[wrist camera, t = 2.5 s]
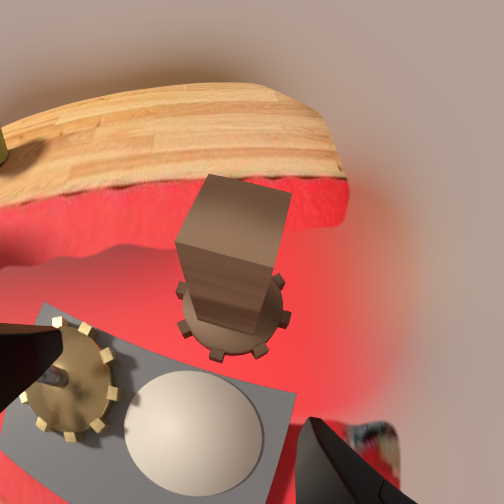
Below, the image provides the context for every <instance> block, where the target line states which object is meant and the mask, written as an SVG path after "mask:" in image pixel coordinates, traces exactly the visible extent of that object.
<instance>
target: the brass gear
mask: <svg viewBox="0 0 504 504" xmlns="http://www.w3.org/2000/svg"><path fill="white" fill-rule="evenodd" d="M53 326H54V327H56V328H58V329H60V330H61V332H62V339H63V353H62V354H61V356H60V357H59V358H58V359H57V360H56V361H55V362H54V363H53V364H52V365H51V367H50V368H49V369H48V370H47V371H46V372H45V373H44V374H43V375H42V376H41V377H40V378H39V379H38V380H37V381H36V382H35V383H33V384H32V385H31V386H30V387H29V388H28V389H27V390H25V391H24V392H23V393H22V394H21V395H20V396H19V397H20V400H21V403H22V404H28V405H30V407H31V408H32V410H33V412H34V413H35V414H36V415H37V417H38V419H37V422H36V426H37V427H39V428H40V429H41V430H42V431H43V432H54V430H58V431H62V432H64V436H65V441H66V442H80V441H85V439H84V434H83V432H84V431H88V430H91V429H94V430H95V431H96V432H97V433H106V432H107V430H108V429H109V428H110V427H111V426H112V425H113V424H112V423H111V422H110V421H109V420H108V419H107V418H106V417H107V416H108V414H109V412H110V410H111V408H112V405H113V402H114V400H115V401H120V402H123V401H124V392H125V389H121V388H117V387H116V383H115V375H114V370H113V367H112V366H114V365H116V364H118V363H120V361H119V358H118V356H117V354H116V352H115V351H114V350H112V349H111V348H109V347H107V348H105V349H103V348H102V347H101V346H100V345H99V344H98V343H97V342H96V341H95V340H96V338H97V336H98V334H99V332H98V331H97V330H95V329H94V328H92V327H91V326H89V325H88V324H86V323H85V322H82V323H81V325H80V327H79V329H76V328H73V327H70V322H69V321H67V320H66V319H64V318H63V317H56V318H53Z"/></svg>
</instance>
